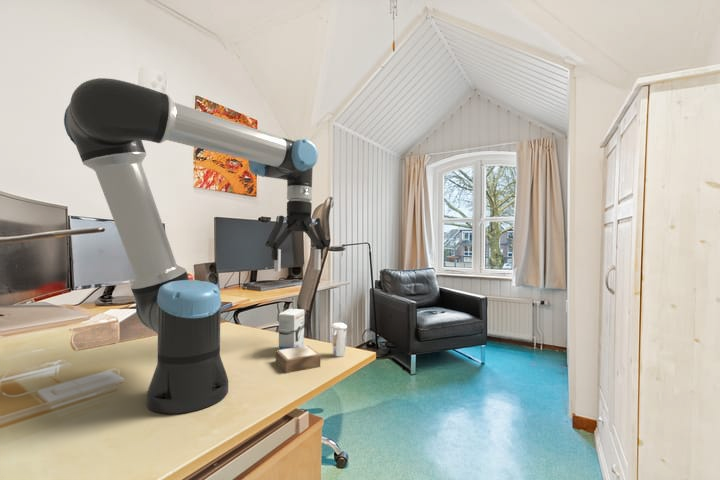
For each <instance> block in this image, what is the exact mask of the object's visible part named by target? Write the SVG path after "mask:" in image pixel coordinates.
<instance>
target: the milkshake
mask: <svg viewBox="0 0 720 480" xmlns="http://www.w3.org/2000/svg"><path fill="white" fill-rule="evenodd" d="M349 324H350V322H348V323H347V324H345V323H344V322H334V323H332V325H331V326H330V330H331V343H332V355H333V357H336V358H341V357H344V356H345V355H346V341H347V330H348V326H349Z"/></svg>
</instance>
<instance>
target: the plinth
mask: <svg viewBox="0 0 720 480" xmlns="http://www.w3.org/2000/svg"><path fill="white" fill-rule="evenodd" d="M275 362H276V363H277V365H278V366H279V367H280V368H281V370H283V371H284V372H285V373H286V374H289V373H294V372H299V371H304V370H308V369H309V370H310V369H314V368H320V367H321V354H320V353H319V352H317V351H316V350H314V348H312V347H310V345H304V346H301V347H295V348H288V349H282V350H279V349H277V350H275Z"/></svg>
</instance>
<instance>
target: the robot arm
mask: <svg viewBox="0 0 720 480" xmlns="http://www.w3.org/2000/svg"><path fill="white" fill-rule="evenodd" d="M63 124H64V129H65V131H66V135H67V136H68V137H69V138H70V141H71V142H72V143H73V144H74V146H76V149H77V152H78V154H79V157H80V159H81V162H82V165H84V166H86V167H87V168H90V169H91V170H93V171H94V172H95V174H96V177H97V179H98V181H99V185H100V188H101V190H102V192H103V195H104V199H105V200H106V203H107V206H108V208H109V211H110V213H111V217H112V219H113V222H114V224H115V227H116V230H117V233H118V235H119V238H120V241H121V243H122V246H123V249H124V251H125V253H126V256H127V259H128V262H129V263H130V267H131V269H132V272H133V275H134V279H133V281H132V282H131V284H130V289H131V290H130V291H131V292H132V295H133V297H134V301H135V311H136V315H137V317H138V319H139V321H140V322H141V323H142V325H144V326H145V327H147V328H148V329H150V330H152V331H153V332H155V333H156V334H157V363H156V364H157V365H156V367H155V369H154V372H153V375H152V378H151V379H150V380H151V381H150V384H149V386H148V388H147V389H148V390H147V391H146V392H147V393H146V406H147V408H148V409H149V410H150V411H152V412H154V413H159V414H165V415H167V414H172V415H174V414H175V415H176V414H183V413H184V414H185V413H190V412H194V411H198V410H202V409H205V408H208V407H211V406H213V405H214V404H217V403H219V402H220V401H222V400H223V399H224V398H225V397H226V396H227V395H228V394H229V377H228V375H227V372H226V369H225V366H224V363H223V360H222V357H221V307H222V299H221V298H222V297H221V291H220V288H219V286H217V284H215V283H213V282H210V281H206V280H203V281H201V280H199V279H198V280H197V279H190V278H189V275H188V272H187V269H186V268H184V267H183V266H180V265H178V264H177V263H176V262H177V261H176V258H175V256H174V253H173V251H172V250H173V249H172V248H171V244H170V241H169V239H168V236H167V233H166V231H165V227H164V224H163V222H162V219H161V216H160V213H159V210H158V208H157V204H156V201H155V198H154V196H153V193H152V190H151V187H150V185H149V182H148V179H147V176H146V173H145V172H146V171H144V167H143V161H144V159H145V158H146V156H147V152H146V149H145V147H144V144H143V141H147V142H151V143H152V142H153V143H156V144H161V143H163V142H166V141H169V142H173V143H178V144H182V145H184V146H185V145H186V146H190V147H194V148H197V149H202V150H206V151H209V152H213V153H218V154H222V155H226V156H231V157H234V158H238V159H243V160H247V161H248V169H249V171H250V173H251V174H252V175H255V176H259V177H262V178H269V179H270V178H271V179H272V178H273V179H279V180H284V181H286V183H287V184H286V185H287V186H286V187H287V188H286V190H287V191H286V199H287V200H288V201H287V202H286V216H284V215H278V216H276V220H275V221H276V222H275V225H273V228H272V230H271V232H270V234H269V236H268V238H267V240H266V242H265V246H266V247H268V248H270V249H271V260H273V261H274V262H273V263H274V265H273V266H274V267H273V268H274V269H273V272H280V273H281V269H282V268H281V263H282V262H281V260H282V256H281V255H282V249H280V246H282V244H283V243H284V242H285V241H286V239H287V238H288V237H289V235H290V234H291V233H292V232H303V233H305V234H306V235H307V236H308V237H309V240H310V241H311V242H312V243H313V245H314V246H315V248H314V254H313V255H314V256H313V259H314V260H313V262H314V263H313V264H314V265H313V270H315V271H316V270H317V271H321V270H322V269H321V265H322V264H321V263H322V262H321V261H322V259H324V258H323V257H324V256H323V255H324V250H325V249H326V248H328V247H329V243H328V240H327V236H326V235H325V232H324V230H323V227H322V225H321V219H320V218H319V217H314V218H312V208H313V207H312V205H313V204H312V202H311V201H312V197H313V194H312V193H313V191H312V190H313V167H315V165H316V164H317V163H318V158H319V156H318V155H319V153H318V149H317V147H316V145H315V143H313V142H312V141H311V140H309V139H307V138H303V139H295V140H291V139H288V138H286V137H281V136H278V135H275V134H272V133H269V132H268V131H267V132H266V131H264V130H260V129H256V128H255V127H251V126H249V125H244V124H241V123H239V122H237V121H232V120H229V119H227V118H223V117H220V116H217V115H213V114H211V113H208V112H205V111H203V110H198V109H196V108H192V107H189V106H186V105H183V104H180V103H177V102H174V101H173V100H172V98H171V97H170V96H169V94H167V93H164V92H161V91H157V90H155V89H152V88H149V87H145V86H142V85H138V84H135V83H134V82H133V83H131V82H128V81H125V80H120V79H115V78H107V77H106V78H105V77H103V78H101V77H99V78H93V79H89V80H86V81H84V82H82V83H80V84H79V85H78V86H77V87H76V88H75V89H74V91H73V93H72V94H71V98H70V101H69V104H68V105H67V108H66V109H65V112H64V116H63ZM285 223H286V224H287V226H286V227H285V228H284V230H283V231H282V232H281V233H280V231H281V229H282V227H283V224H285ZM311 225H313V227H311ZM313 228H314V230H315V232H314V230H313ZM279 233H280V234H279ZM315 233H316V234H315Z"/></svg>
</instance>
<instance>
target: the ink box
mask: <svg viewBox="0 0 720 480" xmlns="http://www.w3.org/2000/svg"><path fill="white" fill-rule="evenodd" d="M301 346H305V309H301V308H288V309H286V310H283V311H281V312H280V313H279V314H278V350H282V349H288V348H295V347H301Z"/></svg>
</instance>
